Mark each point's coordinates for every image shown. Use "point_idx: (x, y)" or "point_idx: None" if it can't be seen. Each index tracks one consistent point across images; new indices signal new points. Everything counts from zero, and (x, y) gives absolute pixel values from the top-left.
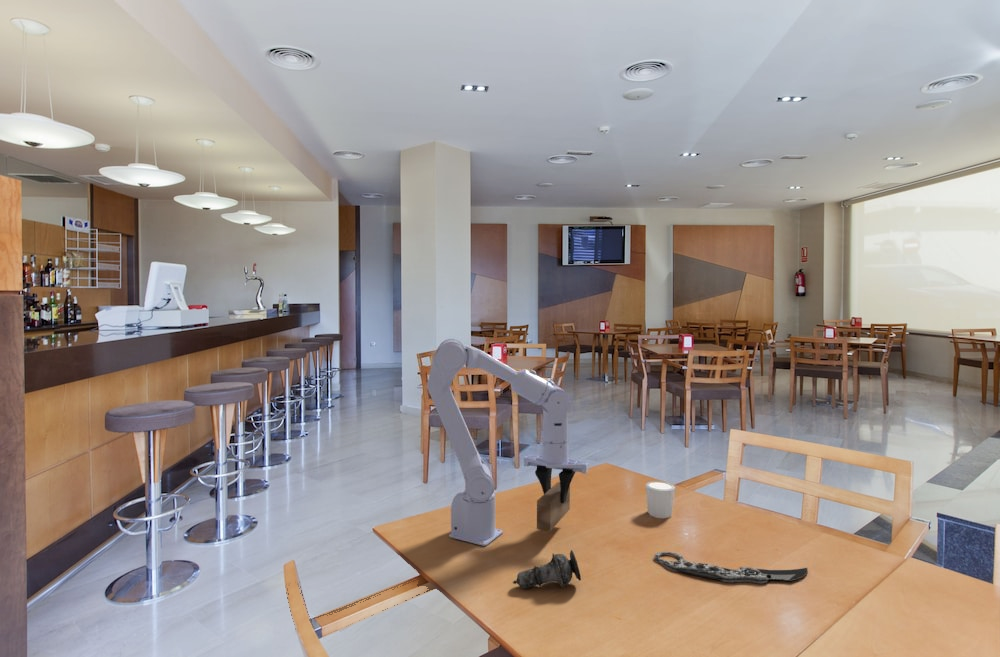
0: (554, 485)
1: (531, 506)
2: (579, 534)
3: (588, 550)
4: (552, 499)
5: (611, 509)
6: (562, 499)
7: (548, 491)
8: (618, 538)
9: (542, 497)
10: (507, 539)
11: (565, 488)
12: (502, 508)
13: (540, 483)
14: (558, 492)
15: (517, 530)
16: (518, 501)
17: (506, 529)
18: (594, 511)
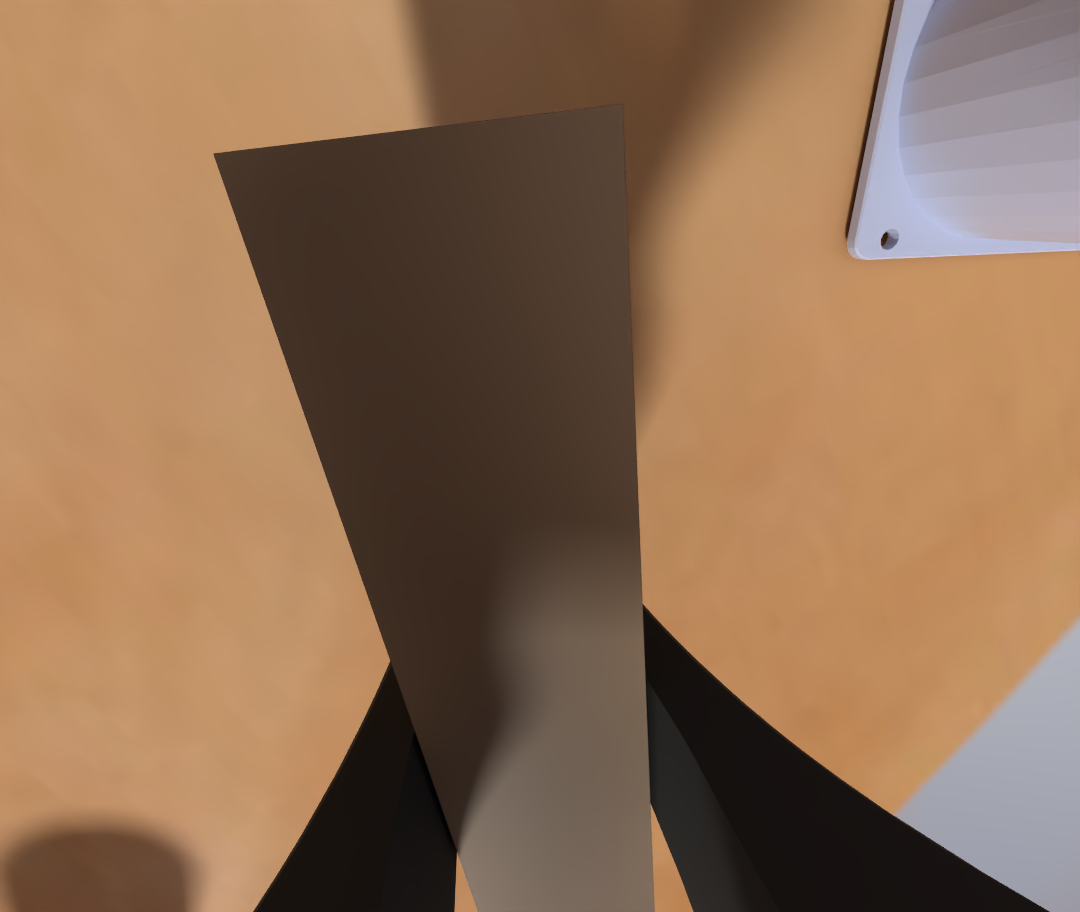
0: (645, 881)
1: (785, 688)
2: (333, 543)
3: (97, 347)
4: (342, 425)
5: None
6: (393, 678)
7: (628, 706)
8: (67, 634)
9: (597, 409)
10: (774, 165)
11: (277, 880)
12: (939, 582)
13: (837, 778)
14: (465, 756)
15: (754, 359)
16: (873, 697)
17: (834, 330)
18: None
